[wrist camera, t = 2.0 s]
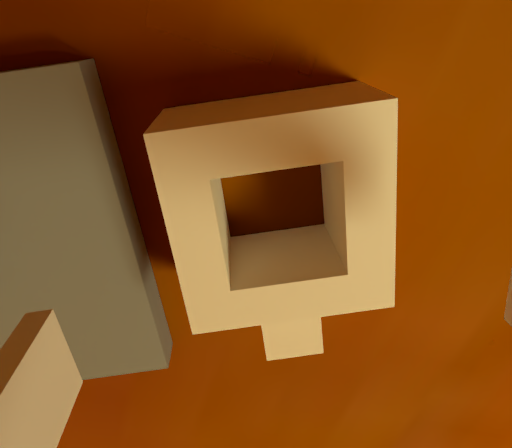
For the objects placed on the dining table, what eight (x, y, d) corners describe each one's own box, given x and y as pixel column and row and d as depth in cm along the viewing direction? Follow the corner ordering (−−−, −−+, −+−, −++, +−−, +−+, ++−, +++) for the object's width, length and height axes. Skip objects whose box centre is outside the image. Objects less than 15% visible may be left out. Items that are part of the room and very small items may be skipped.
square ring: (163, 108, 19) (142, 134, 15) (358, 80, 19) (397, 98, 15) (212, 330, 25) (208, 399, 20) (364, 310, 25) (393, 373, 20)
